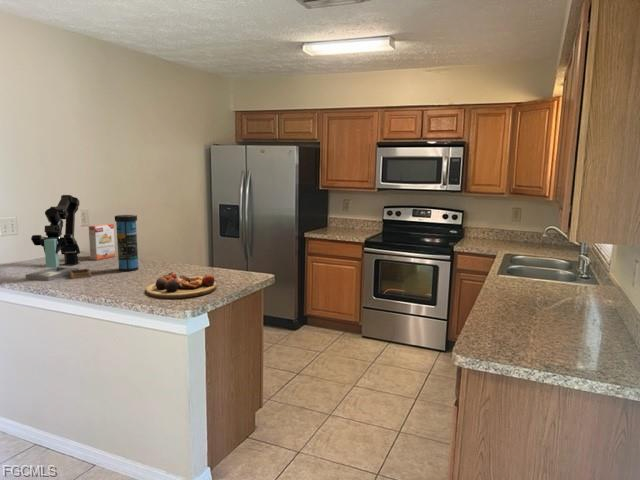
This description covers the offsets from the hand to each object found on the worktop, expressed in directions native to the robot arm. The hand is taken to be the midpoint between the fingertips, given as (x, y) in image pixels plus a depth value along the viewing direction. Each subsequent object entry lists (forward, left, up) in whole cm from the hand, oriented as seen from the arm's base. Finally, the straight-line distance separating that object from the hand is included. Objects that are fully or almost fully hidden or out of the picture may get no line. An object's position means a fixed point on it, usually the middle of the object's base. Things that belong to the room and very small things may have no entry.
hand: (50, 253), depth 227 cm
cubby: (+9, +8, -13) cm, 18 cm away
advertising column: (+23, +28, -13) cm, 39 cm away
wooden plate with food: (+73, +1, -14) cm, 74 cm away
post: (-1, +1, -7) cm, 7 cm away
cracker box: (-12, +50, -13) cm, 53 cm away
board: (-5, +6, -13) cm, 15 cm away
